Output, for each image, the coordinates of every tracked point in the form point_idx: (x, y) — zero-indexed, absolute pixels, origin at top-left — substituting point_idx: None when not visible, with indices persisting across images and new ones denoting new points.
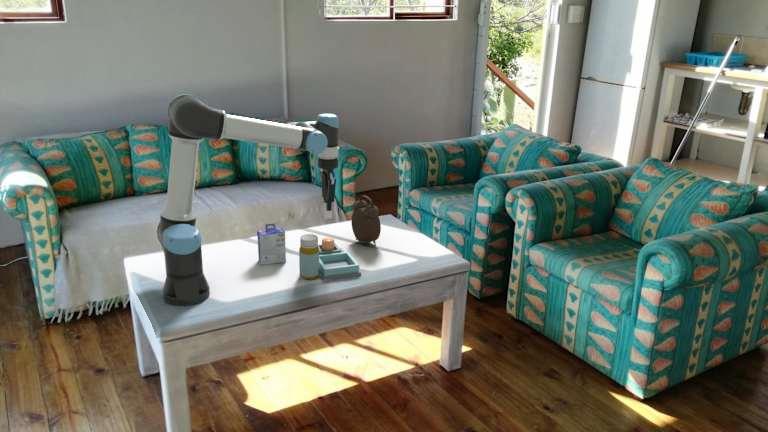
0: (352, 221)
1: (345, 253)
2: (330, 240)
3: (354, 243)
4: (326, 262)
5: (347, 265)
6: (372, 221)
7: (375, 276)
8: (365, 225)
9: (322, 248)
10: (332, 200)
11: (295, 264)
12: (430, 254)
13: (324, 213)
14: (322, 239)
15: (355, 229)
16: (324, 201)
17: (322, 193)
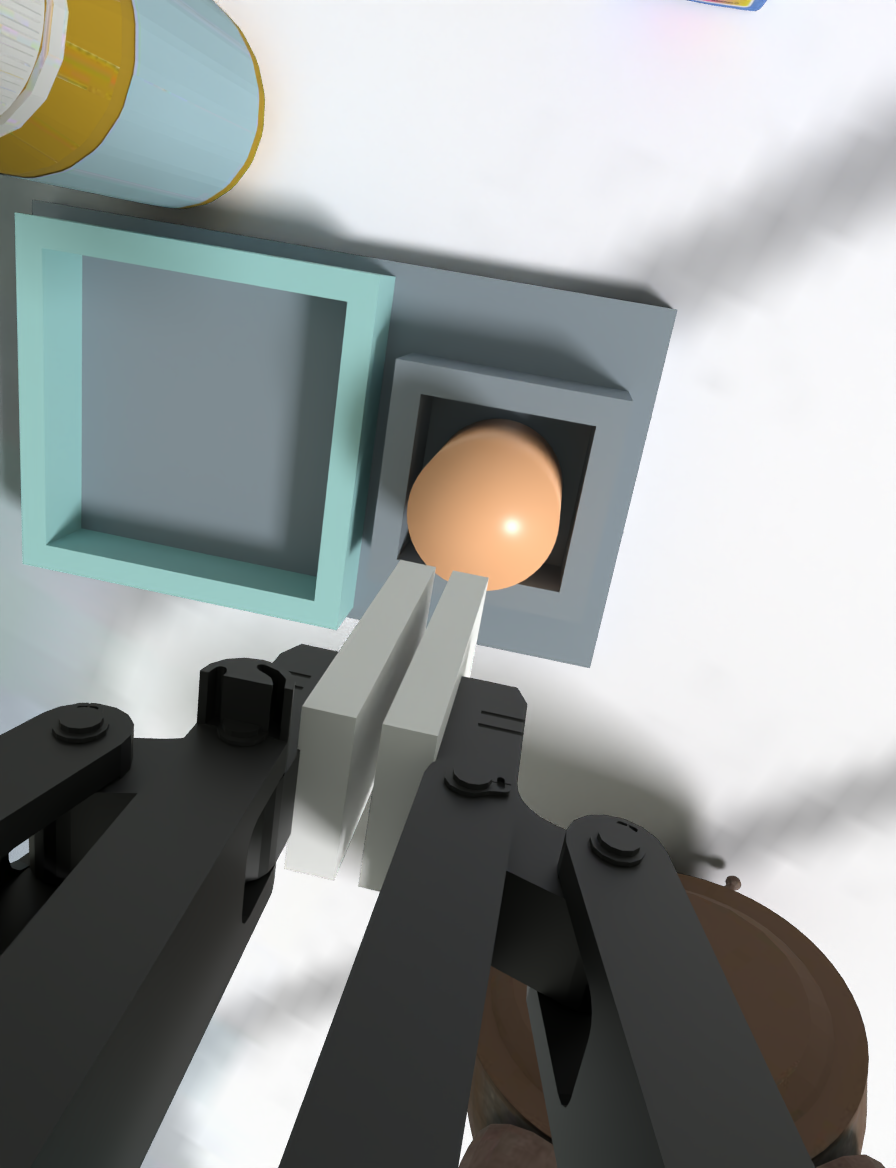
0: (834, 1006)
1: (315, 590)
2: (458, 538)
3: (688, 831)
4: (335, 378)
5: (42, 466)
6: (475, 1105)
7: (8, 628)
8: (514, 1013)
9: (487, 426)
10: (33, 843)
11: (501, 78)
12: (232, 1114)
13: (441, 601)
14: (530, 468)
15: (722, 940)
16: (221, 678)
17: (620, 895)
